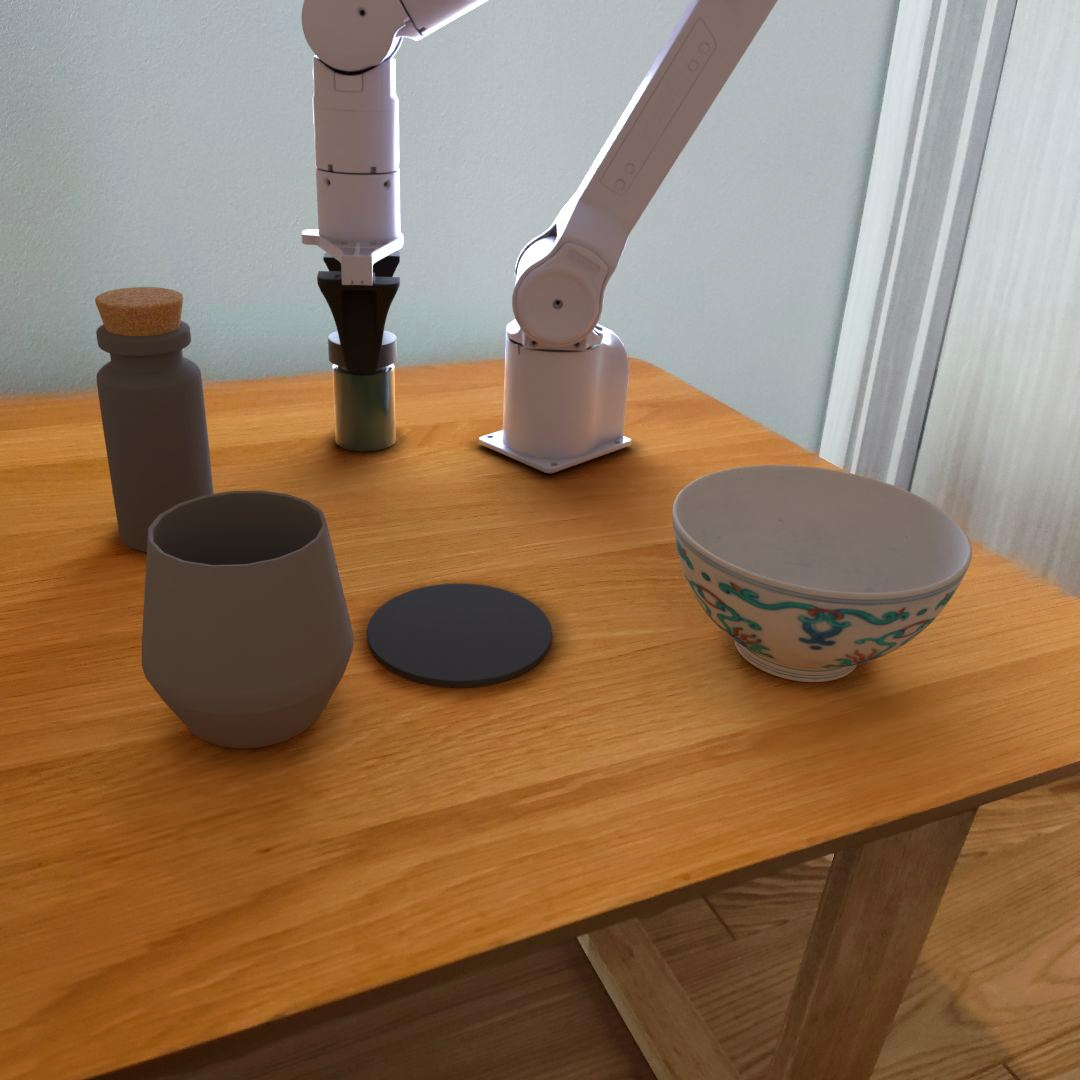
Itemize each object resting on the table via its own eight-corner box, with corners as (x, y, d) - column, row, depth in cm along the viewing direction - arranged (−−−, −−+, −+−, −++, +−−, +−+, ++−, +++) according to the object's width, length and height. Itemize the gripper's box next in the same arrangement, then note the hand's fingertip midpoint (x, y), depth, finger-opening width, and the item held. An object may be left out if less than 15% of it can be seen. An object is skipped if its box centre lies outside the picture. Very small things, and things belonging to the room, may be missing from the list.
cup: (191, 653, 55) (169, 476, 50) (370, 663, 55) (365, 487, 50) (120, 771, 46) (86, 571, 42) (333, 784, 46) (322, 584, 42)
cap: (404, 367, 78) (404, 344, 77) (336, 372, 76) (335, 349, 75) (388, 347, 82) (387, 326, 81) (323, 351, 80) (322, 329, 80)
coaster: (468, 572, 64) (468, 566, 64) (589, 639, 58) (590, 633, 58) (329, 629, 58) (329, 623, 57) (449, 712, 51) (449, 705, 51)
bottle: (189, 559, 64) (160, 314, 57) (100, 546, 65) (61, 303, 58) (233, 519, 69) (211, 289, 62) (150, 507, 70) (120, 279, 63)
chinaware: (994, 722, 53) (1034, 587, 49) (705, 742, 50) (725, 601, 47) (864, 576, 66) (888, 461, 62) (630, 586, 63) (641, 467, 60)
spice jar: (370, 425, 85) (367, 334, 82) (407, 441, 82) (406, 347, 79) (323, 439, 82) (318, 344, 79) (360, 456, 79) (357, 359, 76)
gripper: (306, 152, 79) (315, 331, 85) (289, 183, 66) (300, 390, 72) (401, 155, 80) (403, 332, 86) (403, 186, 67) (405, 391, 73)
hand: (363, 359), depth 79 cm, fingers closed on cap, 5 cm apart
